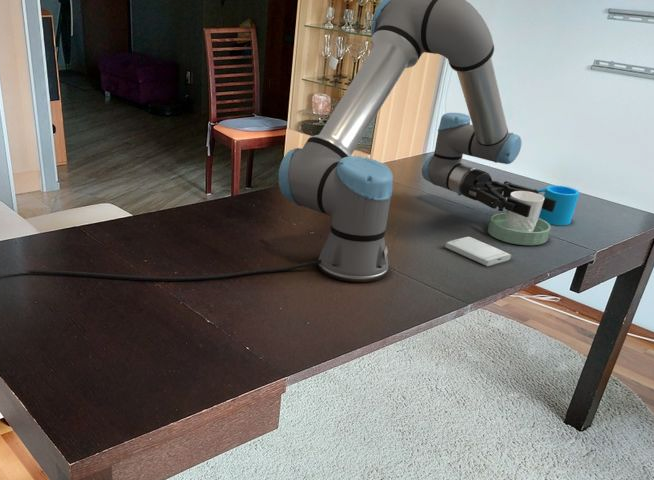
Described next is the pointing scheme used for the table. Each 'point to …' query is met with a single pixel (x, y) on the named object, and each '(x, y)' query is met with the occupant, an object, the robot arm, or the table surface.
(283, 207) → the table surface
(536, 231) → the bowl
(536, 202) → the white cup
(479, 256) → the hard drive
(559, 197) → the mug
